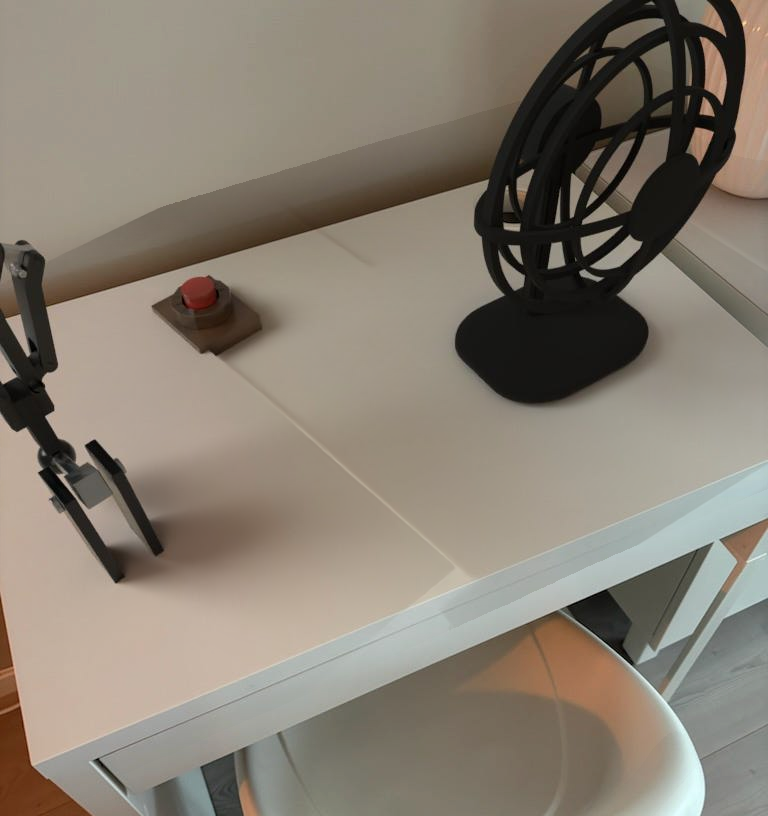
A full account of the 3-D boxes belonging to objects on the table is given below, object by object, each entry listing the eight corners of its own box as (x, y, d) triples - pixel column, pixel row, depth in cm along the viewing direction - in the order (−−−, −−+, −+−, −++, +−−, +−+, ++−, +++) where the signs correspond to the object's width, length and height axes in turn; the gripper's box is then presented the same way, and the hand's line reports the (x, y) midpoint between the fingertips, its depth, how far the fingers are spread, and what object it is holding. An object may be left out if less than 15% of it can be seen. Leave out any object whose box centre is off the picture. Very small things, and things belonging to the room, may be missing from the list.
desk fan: (503, 453, 73) (553, 73, 45) (405, 351, 82) (394, -18, 54) (704, 344, 81) (856, -40, 52) (594, 262, 90) (672, -103, 61)
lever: (46, 476, 68) (26, 447, 66) (78, 457, 69) (58, 428, 67) (86, 517, 58) (63, 484, 56) (122, 495, 59) (100, 461, 57)
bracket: (57, 548, 69) (-9, 458, 59) (141, 494, 72) (93, 400, 62) (122, 634, 63) (63, 553, 53) (211, 572, 67) (171, 483, 56)
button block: (156, 321, 87) (145, 292, 84) (213, 289, 90) (205, 261, 87) (204, 363, 82) (194, 335, 79) (262, 329, 85) (256, 301, 82)
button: (178, 299, 83) (174, 286, 82) (205, 285, 85) (202, 272, 83) (196, 314, 82) (192, 301, 80) (223, 299, 83) (220, 286, 82)
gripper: (-200, 262, 42) (-3, 511, 61) (16, 170, 46) (136, 428, 66) (-238, 208, 45) (-40, 460, 64) (-33, 128, 50) (94, 384, 69)
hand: (48, 443), depth 65 cm, fingers closed
